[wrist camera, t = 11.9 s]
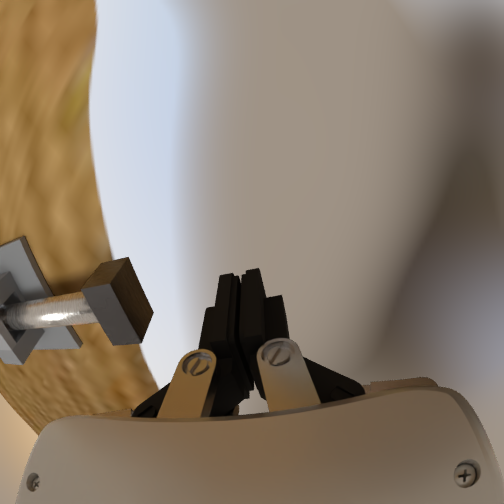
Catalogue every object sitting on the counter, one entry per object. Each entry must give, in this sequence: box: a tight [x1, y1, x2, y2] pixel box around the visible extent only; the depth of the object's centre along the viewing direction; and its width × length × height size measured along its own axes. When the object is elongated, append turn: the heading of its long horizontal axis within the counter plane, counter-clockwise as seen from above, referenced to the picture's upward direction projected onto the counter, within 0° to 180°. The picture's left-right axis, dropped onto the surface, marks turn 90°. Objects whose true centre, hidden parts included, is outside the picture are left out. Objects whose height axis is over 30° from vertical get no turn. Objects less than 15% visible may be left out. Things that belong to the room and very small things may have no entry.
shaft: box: [0, 257, 154, 346], centre depth 16 cm, size 4×15×3 cm, turn 102°
